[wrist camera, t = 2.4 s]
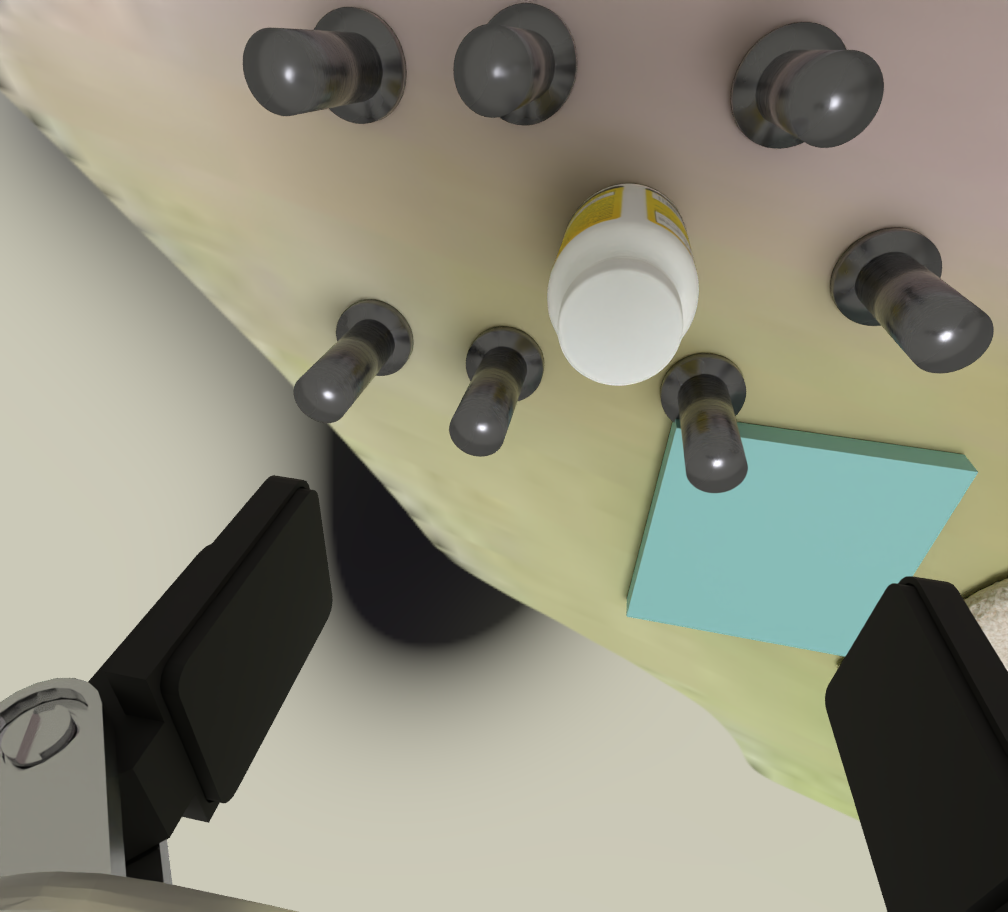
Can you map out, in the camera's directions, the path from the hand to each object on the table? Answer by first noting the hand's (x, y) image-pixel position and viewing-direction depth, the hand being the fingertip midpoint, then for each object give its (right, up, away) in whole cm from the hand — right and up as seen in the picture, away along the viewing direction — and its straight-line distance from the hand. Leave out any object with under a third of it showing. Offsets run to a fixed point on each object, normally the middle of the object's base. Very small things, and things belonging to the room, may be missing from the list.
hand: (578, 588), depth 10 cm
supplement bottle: (+4, +12, +17) cm, 21 cm away
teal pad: (+14, -2, +24) cm, 28 cm away
